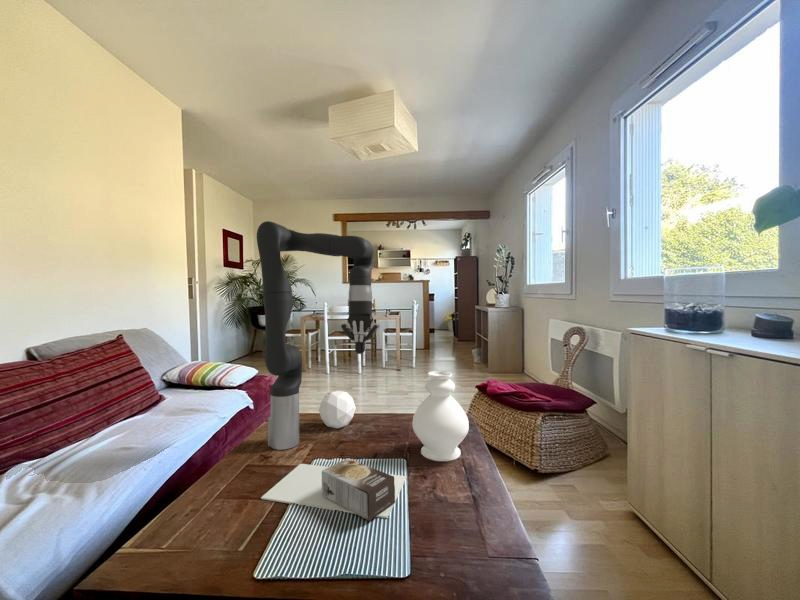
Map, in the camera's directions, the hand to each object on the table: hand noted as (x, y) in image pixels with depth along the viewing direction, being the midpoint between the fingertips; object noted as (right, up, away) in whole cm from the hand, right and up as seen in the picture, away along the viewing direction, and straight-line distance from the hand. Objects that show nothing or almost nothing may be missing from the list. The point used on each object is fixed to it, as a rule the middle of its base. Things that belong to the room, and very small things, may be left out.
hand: (360, 353), depth 108 cm
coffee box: (-4, -27, -23) cm, 36 cm away
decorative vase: (+26, -31, -2) cm, 41 cm away
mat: (-3, -31, -22) cm, 38 cm away
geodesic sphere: (-12, -32, +22) cm, 41 cm away
